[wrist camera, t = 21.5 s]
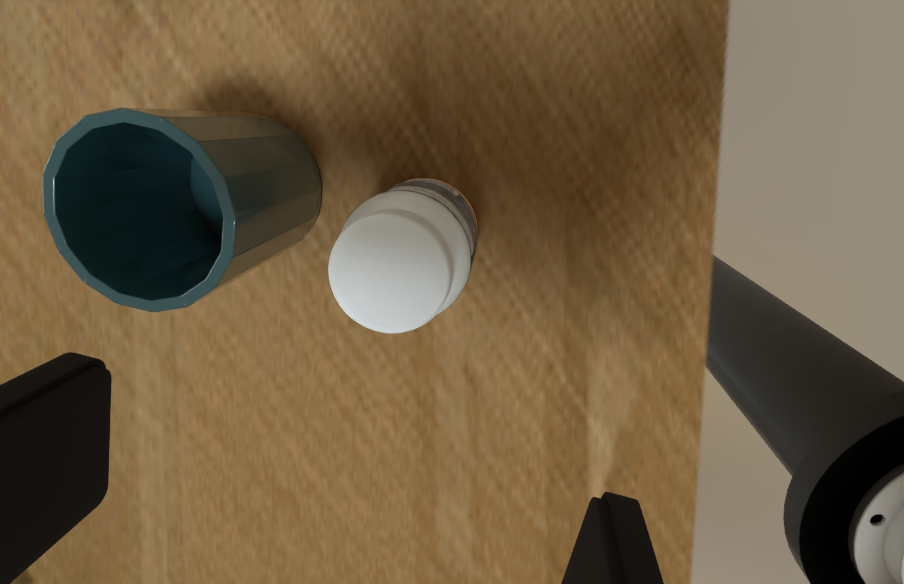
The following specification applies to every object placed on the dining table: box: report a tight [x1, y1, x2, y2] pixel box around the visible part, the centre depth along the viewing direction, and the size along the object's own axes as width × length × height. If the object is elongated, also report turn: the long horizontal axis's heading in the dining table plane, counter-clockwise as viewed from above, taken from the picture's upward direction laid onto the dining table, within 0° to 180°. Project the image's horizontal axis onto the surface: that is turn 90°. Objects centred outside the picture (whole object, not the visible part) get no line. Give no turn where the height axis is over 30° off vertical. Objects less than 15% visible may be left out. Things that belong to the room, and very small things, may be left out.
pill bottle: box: [328, 178, 478, 333], centre depth 25 cm, size 6×6×10 cm
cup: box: [42, 108, 322, 312], centre depth 26 cm, size 8×8×10 cm
